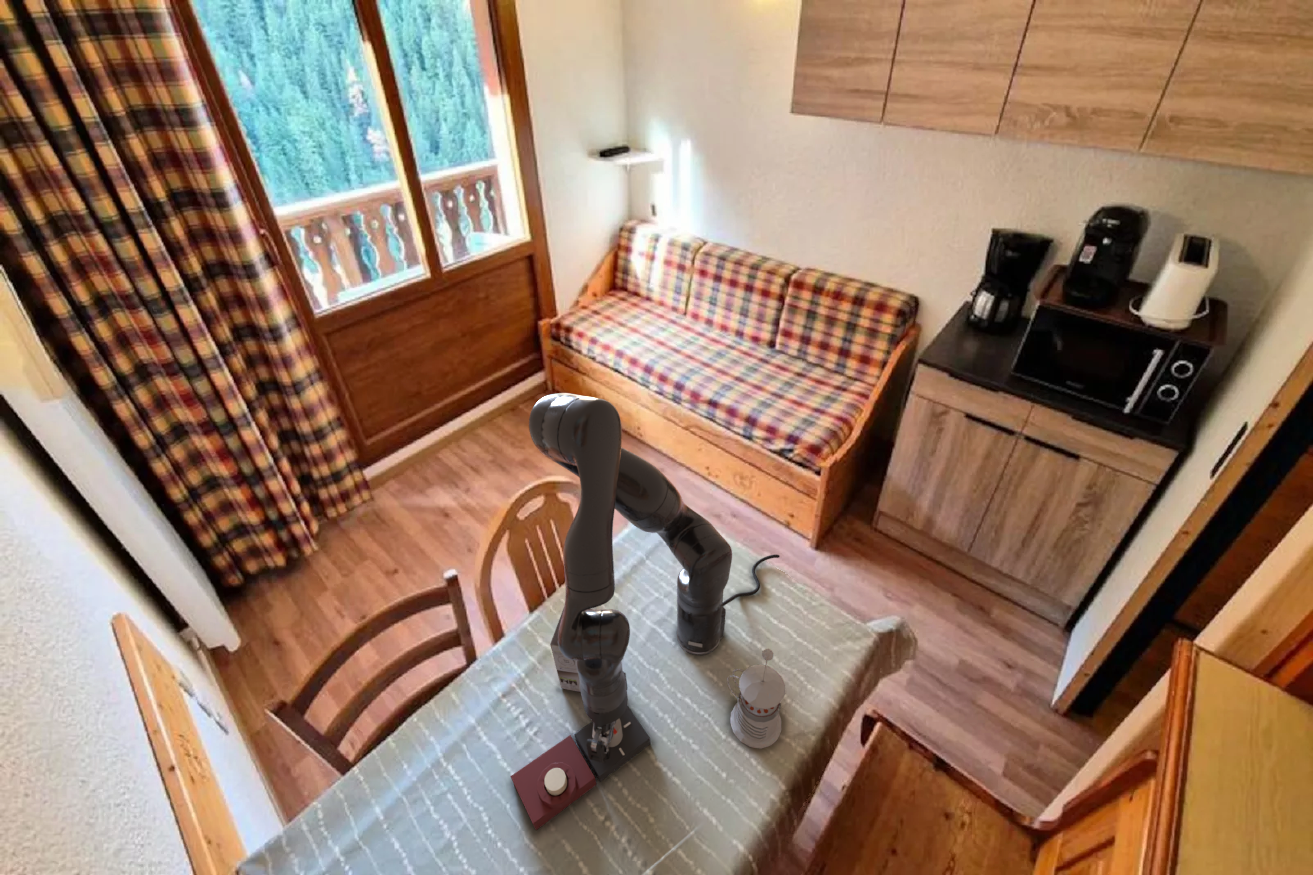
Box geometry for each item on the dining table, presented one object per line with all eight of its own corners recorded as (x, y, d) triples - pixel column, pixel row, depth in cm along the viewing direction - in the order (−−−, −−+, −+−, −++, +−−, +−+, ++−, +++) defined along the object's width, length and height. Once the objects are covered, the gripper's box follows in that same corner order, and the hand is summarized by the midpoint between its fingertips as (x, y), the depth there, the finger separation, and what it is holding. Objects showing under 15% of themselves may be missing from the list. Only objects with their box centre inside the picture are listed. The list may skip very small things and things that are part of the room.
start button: (561, 768, 100) (559, 763, 99) (571, 786, 98) (569, 781, 96) (542, 781, 99) (540, 776, 97) (552, 800, 96) (550, 795, 95)
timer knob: (596, 734, 106) (594, 722, 103) (614, 720, 108) (612, 708, 105) (609, 752, 104) (606, 740, 101) (626, 737, 106) (625, 726, 103)
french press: (762, 760, 104) (776, 693, 89) (712, 717, 111) (717, 647, 95) (791, 719, 110) (810, 649, 94) (742, 680, 116) (751, 609, 100)
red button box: (572, 742, 108) (569, 730, 105) (599, 788, 102) (596, 777, 98) (513, 783, 103) (508, 772, 99) (537, 834, 96) (533, 824, 93)
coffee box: (590, 694, 115) (581, 651, 105) (560, 688, 116) (548, 645, 106) (603, 653, 122) (595, 608, 111) (574, 648, 123) (564, 603, 113)
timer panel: (624, 705, 113) (623, 699, 111) (650, 744, 107) (650, 738, 105) (575, 739, 108) (573, 733, 106) (600, 782, 102) (598, 776, 101)
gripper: (597, 646, 101) (604, 691, 111) (566, 726, 90) (578, 768, 101) (637, 655, 99) (641, 701, 110) (611, 738, 89) (618, 780, 99)
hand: (611, 733), depth 105 cm, fingers open, 7 cm apart
